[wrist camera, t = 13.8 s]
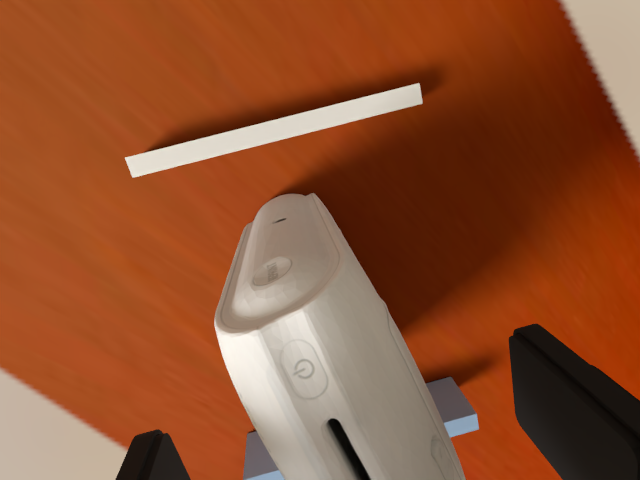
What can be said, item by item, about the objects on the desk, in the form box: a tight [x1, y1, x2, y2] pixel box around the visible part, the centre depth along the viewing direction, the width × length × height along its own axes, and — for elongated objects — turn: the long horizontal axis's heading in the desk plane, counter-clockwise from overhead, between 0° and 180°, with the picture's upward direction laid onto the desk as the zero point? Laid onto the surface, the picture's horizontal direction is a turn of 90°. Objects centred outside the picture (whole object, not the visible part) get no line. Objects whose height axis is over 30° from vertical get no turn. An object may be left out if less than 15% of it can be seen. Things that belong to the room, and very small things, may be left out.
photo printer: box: [214, 193, 466, 480], centre depth 14 cm, size 10×4×12 cm, turn 25°
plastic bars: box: [125, 83, 479, 480], centre depth 18 cm, size 17×12×3 cm
